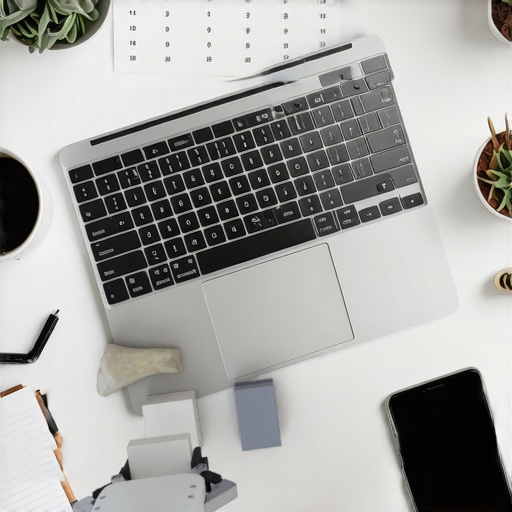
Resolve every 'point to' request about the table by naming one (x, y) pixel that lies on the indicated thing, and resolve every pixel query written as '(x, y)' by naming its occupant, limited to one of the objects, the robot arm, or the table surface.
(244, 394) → the grey-blue block
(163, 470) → the white book
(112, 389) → the stone
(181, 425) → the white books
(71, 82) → the table surface
